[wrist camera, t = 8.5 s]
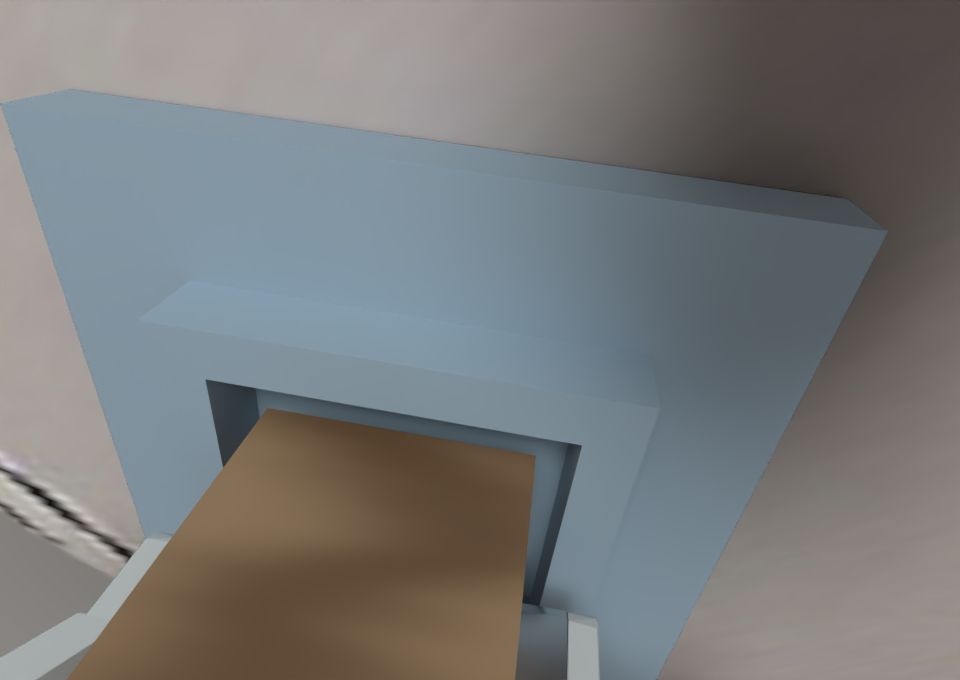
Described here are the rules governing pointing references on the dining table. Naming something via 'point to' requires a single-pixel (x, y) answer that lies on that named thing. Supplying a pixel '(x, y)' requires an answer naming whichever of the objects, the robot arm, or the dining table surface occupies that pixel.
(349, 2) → the dining table surface
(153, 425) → the base
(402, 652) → the block
